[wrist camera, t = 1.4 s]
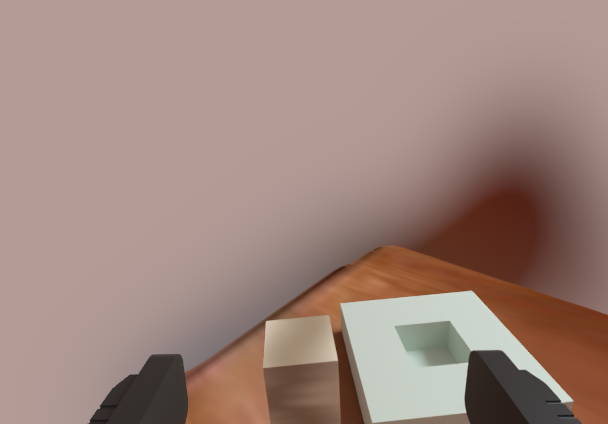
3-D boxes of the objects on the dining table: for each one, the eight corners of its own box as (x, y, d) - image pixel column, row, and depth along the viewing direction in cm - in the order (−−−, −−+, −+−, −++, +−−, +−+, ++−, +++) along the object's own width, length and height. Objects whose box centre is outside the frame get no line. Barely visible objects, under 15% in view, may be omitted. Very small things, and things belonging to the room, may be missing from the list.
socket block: (469, 318, 45) (472, 290, 43) (564, 438, 30) (573, 401, 28) (341, 331, 44) (340, 303, 43) (372, 459, 29) (372, 423, 28)
